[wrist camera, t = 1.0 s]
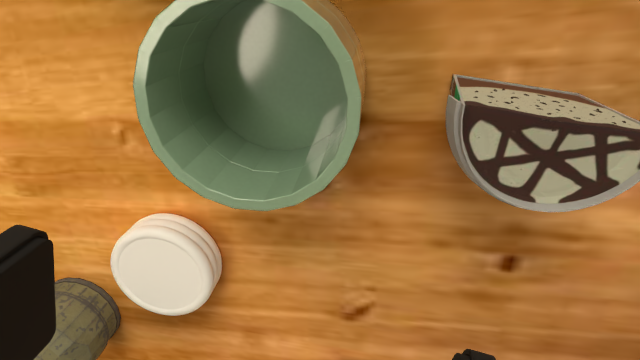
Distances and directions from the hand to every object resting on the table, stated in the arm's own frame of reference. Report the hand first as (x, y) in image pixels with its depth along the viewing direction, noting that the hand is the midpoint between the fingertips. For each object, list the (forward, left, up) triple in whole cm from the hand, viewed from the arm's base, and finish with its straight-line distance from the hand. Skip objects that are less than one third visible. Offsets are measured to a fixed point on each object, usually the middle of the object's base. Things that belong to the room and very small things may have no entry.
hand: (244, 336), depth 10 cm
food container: (-12, +6, -27) cm, 30 cm away
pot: (+4, -2, -27) cm, 27 cm away
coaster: (+20, +12, -27) cm, 36 cm away
